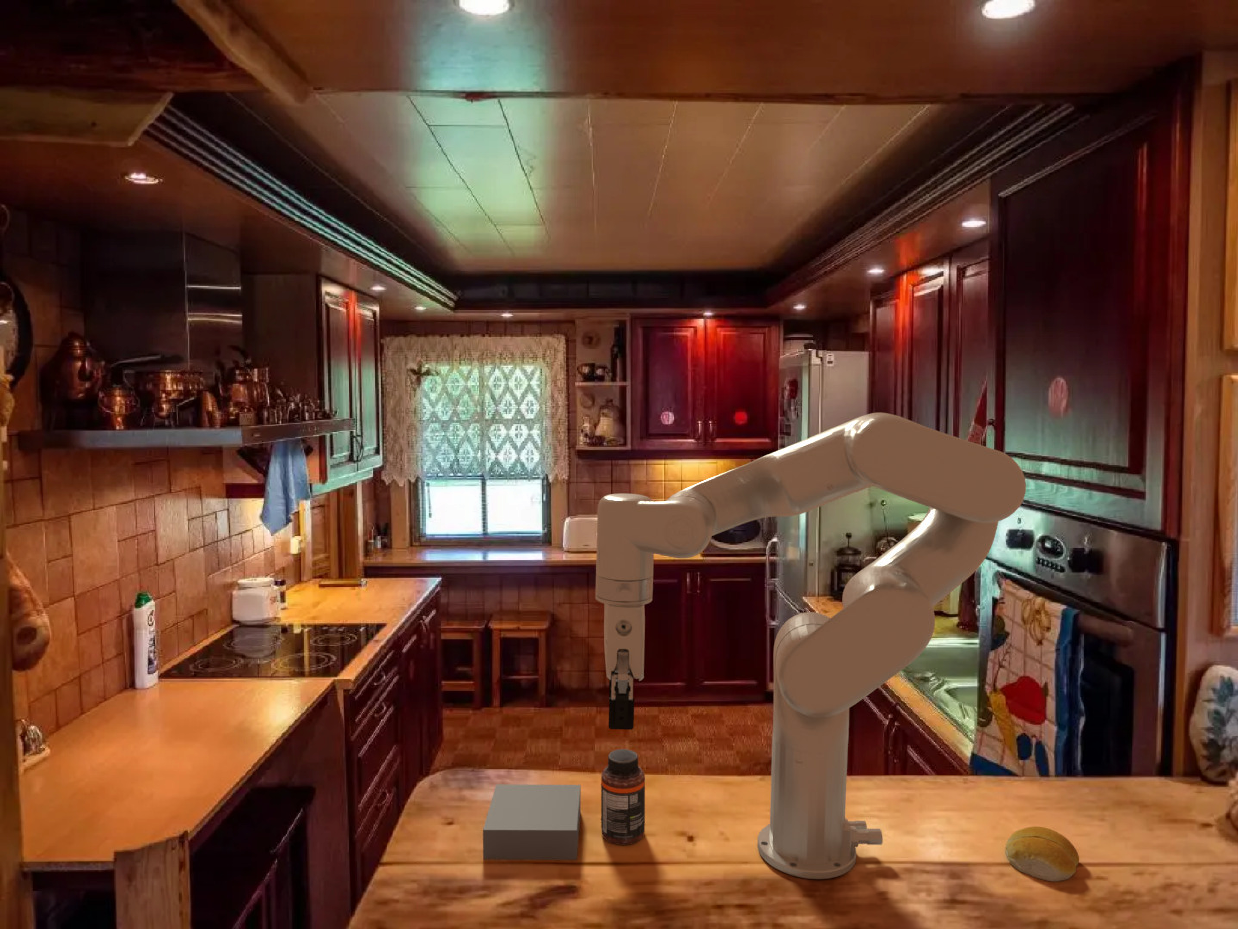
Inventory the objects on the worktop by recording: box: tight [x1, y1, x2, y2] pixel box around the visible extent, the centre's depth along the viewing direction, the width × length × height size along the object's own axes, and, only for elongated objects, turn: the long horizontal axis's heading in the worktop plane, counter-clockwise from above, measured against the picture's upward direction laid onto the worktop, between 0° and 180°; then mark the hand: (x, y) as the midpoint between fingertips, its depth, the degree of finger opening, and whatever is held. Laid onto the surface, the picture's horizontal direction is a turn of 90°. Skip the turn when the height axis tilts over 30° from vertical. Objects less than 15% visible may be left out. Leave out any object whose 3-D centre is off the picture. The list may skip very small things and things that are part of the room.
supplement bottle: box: [600, 748, 646, 846], centre depth 111 cm, size 6×6×11 cm
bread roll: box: [1004, 826, 1080, 882], centre depth 106 cm, size 8×9×4 cm
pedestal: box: [482, 783, 582, 861], centre depth 111 cm, size 12×12×4 cm
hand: (620, 713), depth 110 cm, fingers open, 9 cm apart
